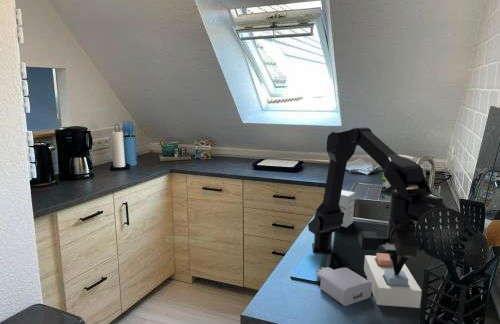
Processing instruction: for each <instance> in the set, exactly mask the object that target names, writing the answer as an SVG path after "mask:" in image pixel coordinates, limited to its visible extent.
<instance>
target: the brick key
mask: <svg viewBox="0 0 500 324" xmlns="http://www.w3.org/2000/svg"><path fill="white" fill-rule="evenodd" d="M375 256H376V263H377V265H378V267H390V268H393V267H392V264H391V260H390V257H389V254H387V253H385V252H384V253H381V252H376V254H375Z"/></svg>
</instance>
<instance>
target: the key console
mask: <svg viewBox="0 0 500 324" xmlns="http://www.w3.org/2000/svg"><path fill="white" fill-rule="evenodd" d="M385 269H386V270H393V268H390V267H378V265H377V263H376V255H368V254H367V255H366V254H365V255H364V263H363V271H364V274H365V277H366V276H367V277H366V280H368V281H369V282H371V283H372V290H371V293H372V295H373V297H374V300H375V303H376V305H377V306H390V307H391V306H392V307H400V308H401V307H402V308H415V309H416V308H417V309H420V308H421V300H422V292H423V291H422V289H421V287H420V285H419V284H418V283H417V281H416V279H415V278H414V276H413V275H412V273H411V272H410V270H409V268H408V266H407V265H406V263H405V264H404V266H403V267H402V269H401V271H404V273H405V275H406V276H407V278H408V287H403V286H389V285H387V284H386V282H385V280H384V270H385Z"/></svg>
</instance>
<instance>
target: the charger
mask: <svg viewBox="0 0 500 324" xmlns="http://www.w3.org/2000/svg"><path fill="white" fill-rule="evenodd" d="M316 270H317V272H316V273H315V274H316V276H317V277H319V278H320V285H319V286H320V287H319V288H320V290H322V291H323V292H325V293H326V294H327V295H328V296H330V297H331V298H332V299H334V300H335V301H337V302H338V303H340V304H341V305H342V306H344V307H347V306H349V305H352V304H355V303H358V302H362V301H365V300H367V299H370V298H371V296H372V283H371V282H369V281H368V279H367V278H364V277H363V276H361V275H359V274H358V273H357V272H354V271H352V270H351V269H349V267H340V268H335V269H333V268H331V267H323V266H322V267H321V269H319V268H316Z"/></svg>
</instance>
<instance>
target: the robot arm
mask: <svg viewBox="0 0 500 324" xmlns="http://www.w3.org/2000/svg"><path fill="white" fill-rule="evenodd" d="M357 146H359V147H360V148H361V149H362V150H363V152H365V153H366V154H367V155H368V156H369V157H370V158H371V159H372V160H373V161H375V163H376V164H378V166H380V168H381V170H382V173H383V174H382V175H383V177H384V179H386V181H387V182H388V183H389V185H390V186H389V187H387V188H385V189H384V193H386V194H388V195H390V201H389V202H390V204H389V205H390V206H389V214H388V215H387V220H388V225H387V226H388V227H387V230H386V234H387V236H378V234H377V233H376V231H369V230H368V231H367V230H361V231H360V232H359V233H358V239H357V240H358V243H359V246H360V248H361V249H362V250H364V251H365V250H366V251H377V250H378V249H379V248H380V245H381V248H382V249H383V251H384V254H389V257H390V260H391V264H392V267H393V271H394V274H395V275H399V273H400V271H401V269H402V267H403V266H404V264H405V265H406V262H407V261H408V259H409V258H411V257H413V258H414V257H418V256H419V252H424V251H423V250H419V244H418V242H417V240H416V236H415V230H416V222H417V221H418V220H419V218H420V217H421V216H422V215H423V214H424V213H426V212H427V211H429V210H431V209H435V208H447V206H446V205H445V204H444V203H443V201H444V199H443V197H439V196H433V195H432V194H433V193H432V189H431V188H430V185H429V183H428V181H427V178H426V177H425V174H424V170H423V168H422V166H421V165H419V164H418V163H417V162H415V161H413V160H411V159H410V158H407V157H404V156H401V155H399V154H398V153H397V152H395V151H393V149H391V147H390V146H388V145H387V144H385V142H383V141H382V140H381V139H380V138H379V137H378V136H377V135H376V134H374V133H373V130H372V129H371V128H368V127H365V126H364V127H354V128H351V129H349V130H344V131H332V132H331V133H329V134H328V135H327V137H326V148H325V149H326V152H327V155H328V157H329V164H328V170H327V175H326V181H325V182H326V183H325V186H324V187H325V188H324V194H323V200H322V202H321V203H320V205H319V206H318V207H317V208H316V210H315V213H314V217H313V218H312V219H311V221H309V222H308V223H307V228H308V231H309V232H310V233H312V234H313V235H314V237H313V243H312V244H311V246H312V247H311V248H312V252H313V253H321V254H334V248H333V245H332V243H333V233H338V232H339V231H340V228H341V227H342V226H341V224H343V217H344V212H342V211H341V209H340V207H339V202H340V197H341V191H342V190H343V187H344V186H343V185H344V181H345V173H346V170H347V164H348V162H349V161H350V159H351V158H352V157H353V156H354V154H355V151H356V149H357ZM409 188H410V189H409ZM417 223H418V222H417Z"/></svg>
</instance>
